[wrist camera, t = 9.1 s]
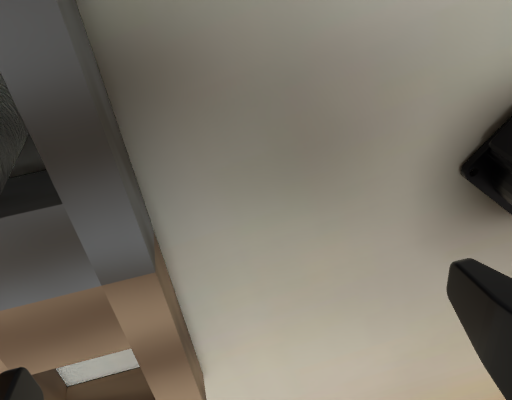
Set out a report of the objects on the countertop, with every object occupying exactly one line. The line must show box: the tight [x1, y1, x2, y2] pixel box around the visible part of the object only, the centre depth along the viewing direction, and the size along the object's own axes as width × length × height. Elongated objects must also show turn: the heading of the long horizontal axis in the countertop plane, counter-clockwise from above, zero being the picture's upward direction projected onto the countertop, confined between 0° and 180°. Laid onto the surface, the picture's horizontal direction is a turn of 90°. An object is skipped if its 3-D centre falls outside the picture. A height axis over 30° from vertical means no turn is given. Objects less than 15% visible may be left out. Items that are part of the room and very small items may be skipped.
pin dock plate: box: [0, 0, 206, 400], centre depth 20 cm, size 24×10×3 cm, turn 8°
